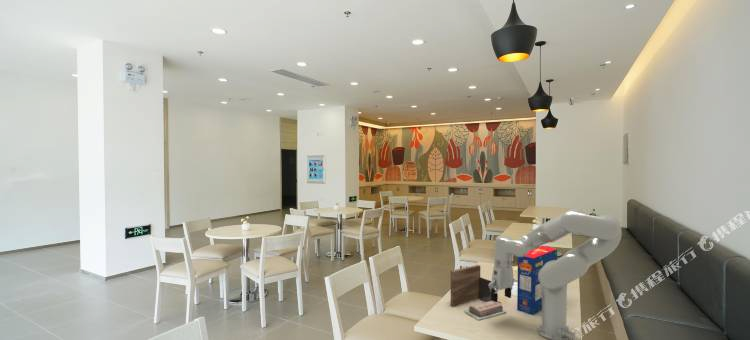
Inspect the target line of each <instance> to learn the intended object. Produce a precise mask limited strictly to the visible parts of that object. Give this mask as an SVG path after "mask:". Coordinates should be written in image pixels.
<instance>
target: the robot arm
mask: <svg viewBox="0 0 750 340" xmlns="http://www.w3.org/2000/svg"><path fill="white" fill-rule="evenodd" d="M622 233H623V232H622V226H621V222H620V221H619V219H618V218H617V217H615V216H614V215H611V214H602V215H601V216H597V215H592V214H587V213H584V212H583V211H581V210H580V209H578V208H570V209H568V210H566V211H564V212H562V213H561V214H558V215H557V216H555V217H554V218H552V219H550V220H547V221H546V222H544V223H542V224H541V225H539V226H538V227H536V228H535V229H533V230H531V231H529V232H527V233H526V234H524V235H521V236H520V237H518V238H517V239H512V237H510V236H507V235H499V236H498V235H497V236H496V237H495V243H494V258H493V259H494V261H493V262H494V263H493V264H494V265H493V268H492V275H491V276H492V277H491V280H490V281H491V282H490V283H489V285H488V286H489V289H490V292H491V300H492V301H494V302H497V301H498V298H499V297H498V295H499V294H498V292H499V290H500V291H501V290H504V296H505V298H508V299H511V298H512V290H513V286H514V283H515V278H514V272H513V271H514V270H513V266H512V263H513V262H512V259H513V257H514V256H515V257H517V258H518V257H524V256H525V255H526V254H528V253H529V252H530V251H532V250H533V249H535V248H538V247H541V246H544V245H546V244H549V243H553V242H556V241H559V240H560V239H562V238H564V237H566V236H568V235H570V234H574V235H575V234H576V235H580V236H584V237H588V238H589V239H587V240H585V241H584V242H583V243H581V244H579V245H577V246H575V247H574V248H572V249H571V248H570V249H569V250H568V251H566V252H565V253H564V254H563V256H561V257H559V258H557V260H552V261H549V262H547V263H546V264H545V265H544V266H543V267H542V268H541V270H540V271H539V274H538V279H539V282H540V284H541V285H542V310H541V325H539V326H538V327H537V333H538V334H539V335H540V336H542V337H544V338H545V339H548V340H569V339H571V340H575V338H576V337H575V336H576V335H575V334H576V333H575V332H574V331H571V330H570V329H569V326H568V325H567V304H568V303H567V300H568V298H567V297H568V294H567V293H568V285H569V284H570V283H573V282H574V281H576V280H577V279H579V278H581V277H583V276H584V275H585V274H586V273H587V271H588V270H589V268H590V267H591V266H592V265H594V264H596V263H598V262H599V261H601V260H603V259H604V258H606V257H608V256H609V255H610V254H612V253H613V252H614V251H615V250H616V249H617V247H618V246H619V244H620V242H621V239H622V235H623V234H622ZM512 256H513V257H512ZM494 288H495V290H494Z"/></svg>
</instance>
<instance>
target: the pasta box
mask: <svg viewBox="0 0 750 340" xmlns="http://www.w3.org/2000/svg"><path fill="white" fill-rule="evenodd" d="M557 259H558V248H555V247H549V246H544V245H541V246H539V247H537V248H535V249H533V250H532V251H530V252H529V253H528V254H526V255H525V256H524V257H517V294H516V296H517V298H516V299H517V300H516V307H517V308H516V310H517V311H519V312H522V313H525V314H528V315H531V316H535V315H536V314H537V313H540V312H542V285H541V284H540V282H539V279H538V274H539V271H540V270H541V268H542V267H543V266H544V265H545V264H546V263H547V262H549V261H552V260H557Z"/></svg>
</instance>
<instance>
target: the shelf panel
mask: <svg viewBox="0 0 750 340" xmlns="http://www.w3.org/2000/svg"><path fill="white" fill-rule="evenodd" d="M479 277H481V265H479V264H476V265H471V266H466V267H463V268H457V269H453V270H451V271H450V307H452V308H454V307H457V306H461V305H464V304H468V303H470V302H474V301H477V300H480V299H479Z"/></svg>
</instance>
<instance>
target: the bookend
mask: <svg viewBox="0 0 750 340" xmlns="http://www.w3.org/2000/svg"><path fill="white" fill-rule="evenodd" d="M491 281H492V280H489V279H487V278H484V277H481V276H480V277H479V299H478V300H480V301H483V302H488V301H492V300H491V292H490V289H489V286H488V285H489V283H490V282H491ZM494 290H496V288H494ZM497 302H499V303H501V304H502V302H501V301H499V300H497Z"/></svg>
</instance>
